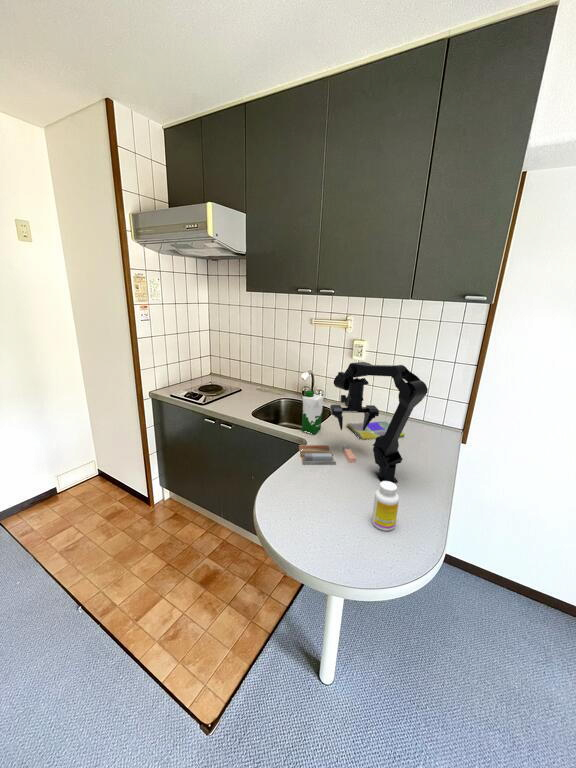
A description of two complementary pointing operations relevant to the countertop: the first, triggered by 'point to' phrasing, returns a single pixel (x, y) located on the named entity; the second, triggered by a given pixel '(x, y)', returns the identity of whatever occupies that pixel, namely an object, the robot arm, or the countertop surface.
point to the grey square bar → (318, 457)
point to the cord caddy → (315, 450)
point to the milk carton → (312, 412)
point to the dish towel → (373, 427)
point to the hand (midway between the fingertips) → (352, 430)
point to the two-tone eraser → (349, 454)
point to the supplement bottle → (385, 506)
